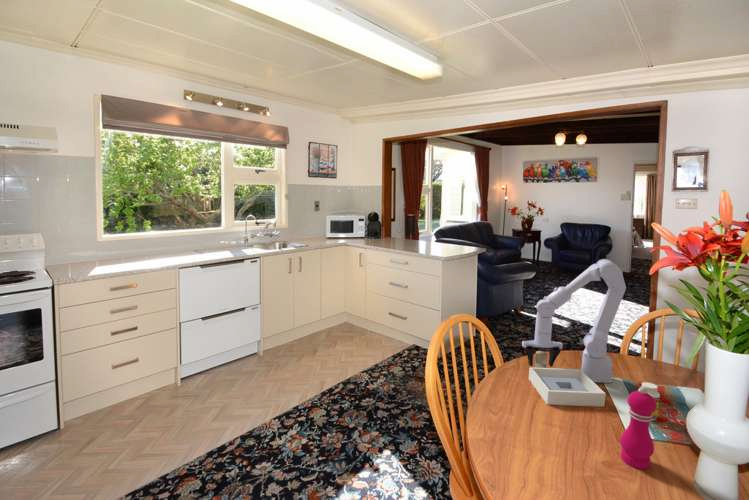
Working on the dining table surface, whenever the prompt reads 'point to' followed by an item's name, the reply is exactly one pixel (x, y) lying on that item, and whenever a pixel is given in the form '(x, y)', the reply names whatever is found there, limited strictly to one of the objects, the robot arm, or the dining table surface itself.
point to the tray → (567, 397)
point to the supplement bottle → (653, 392)
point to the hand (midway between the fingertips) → (540, 365)
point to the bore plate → (563, 384)
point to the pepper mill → (638, 430)
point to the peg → (540, 359)
